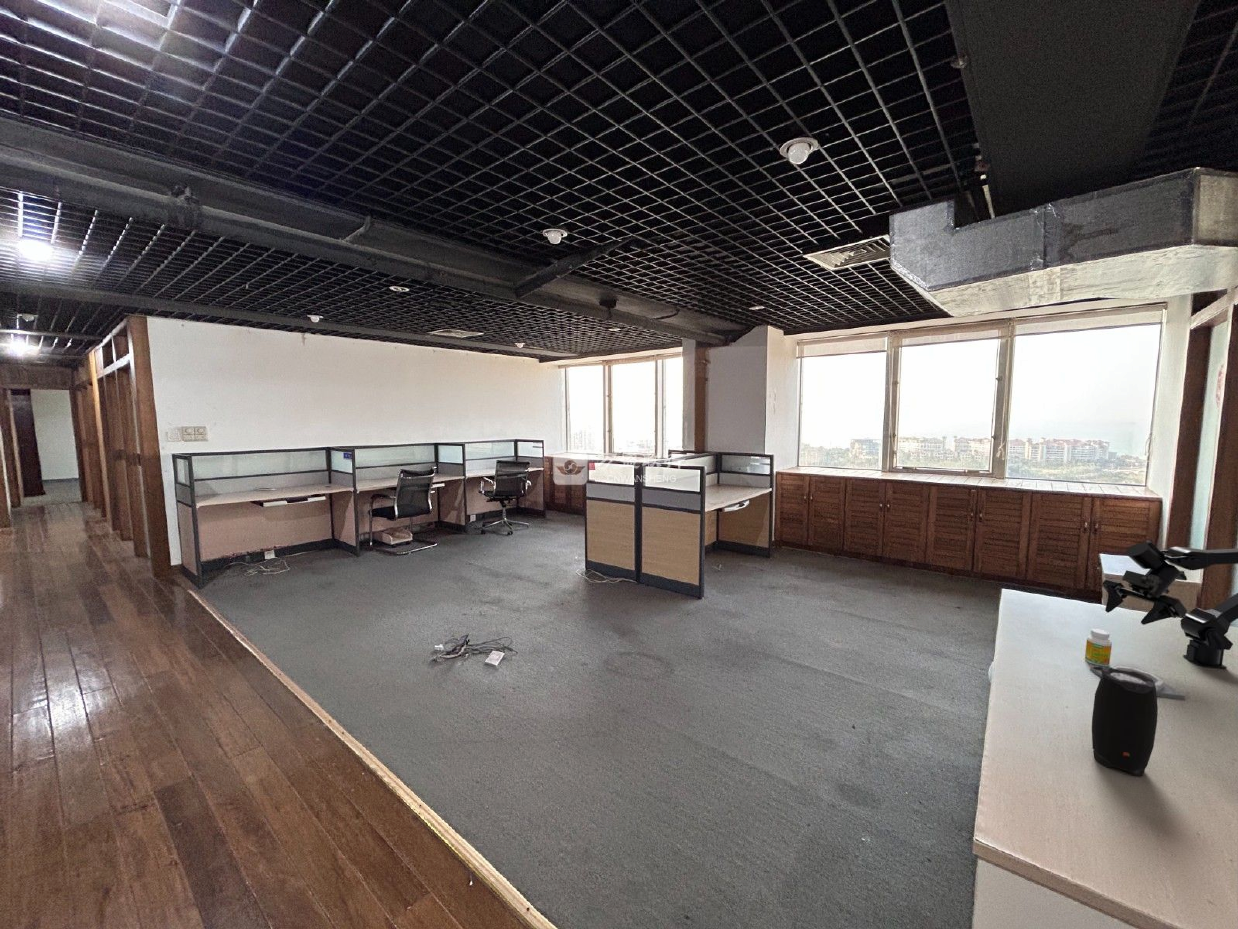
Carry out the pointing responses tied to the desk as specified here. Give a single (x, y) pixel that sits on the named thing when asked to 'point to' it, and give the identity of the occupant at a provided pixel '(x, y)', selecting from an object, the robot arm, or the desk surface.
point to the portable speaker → (1124, 720)
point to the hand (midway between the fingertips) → (1123, 617)
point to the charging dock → (1161, 687)
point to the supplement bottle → (1098, 648)
